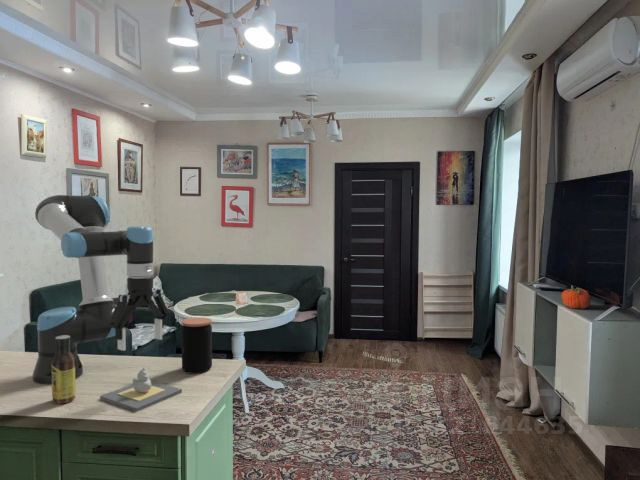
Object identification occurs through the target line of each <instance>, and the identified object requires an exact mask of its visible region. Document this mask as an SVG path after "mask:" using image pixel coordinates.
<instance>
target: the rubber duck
mask: <svg viewBox="0 0 640 480" xmlns="http://www.w3.org/2000/svg"><path fill="white" fill-rule="evenodd" d="M136 376H137V377H134V378H133V379H132V384H134V390H135V391H137V392H140V393H144V392H147V391H149V390H150V389H151V381H152V380H151V379H150V378H149V377H150V375H149V373H148V371H147V370H146V369H145V367H143V368H142V369H141V370H139V372H138V373H137V374H136ZM150 380H151V381H150Z"/></svg>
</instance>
